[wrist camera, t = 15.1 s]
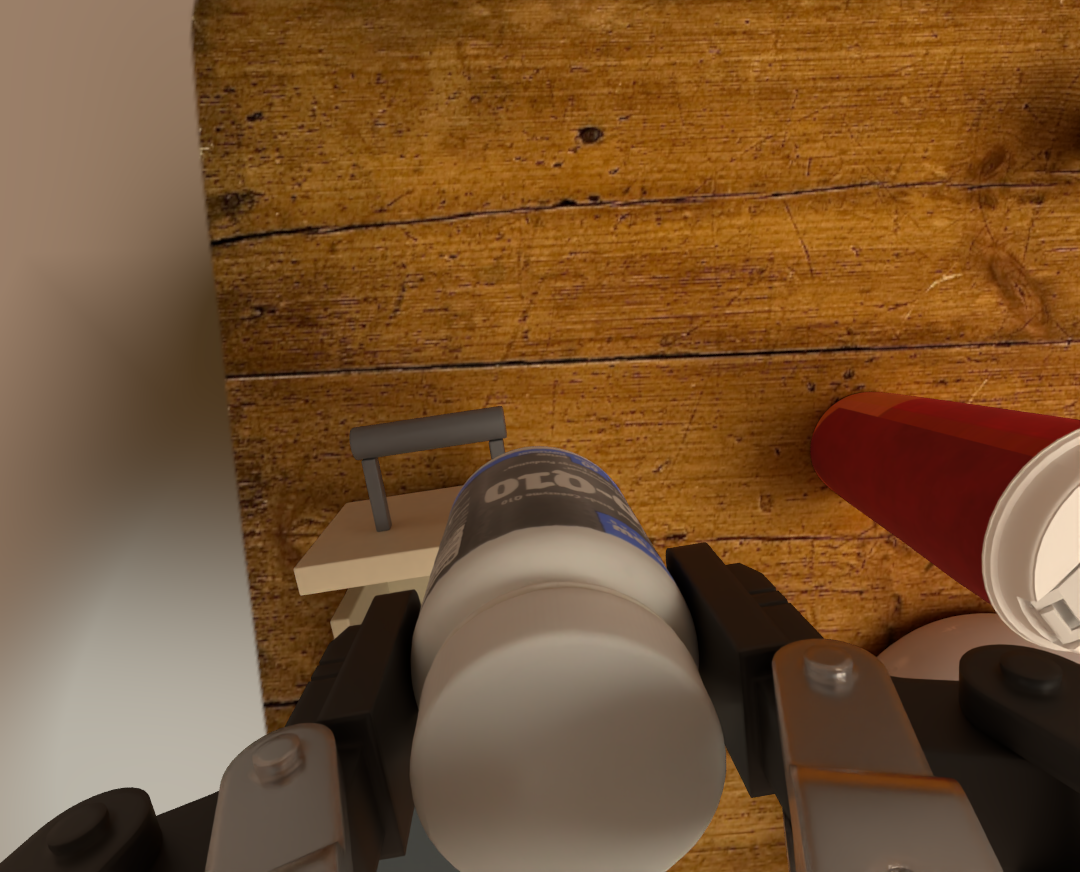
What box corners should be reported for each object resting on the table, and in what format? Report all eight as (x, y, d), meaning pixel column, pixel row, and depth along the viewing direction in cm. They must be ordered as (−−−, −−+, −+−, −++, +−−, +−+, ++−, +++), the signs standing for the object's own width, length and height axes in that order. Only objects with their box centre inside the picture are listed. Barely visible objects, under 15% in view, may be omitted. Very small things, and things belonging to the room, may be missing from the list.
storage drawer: (325, 415, 30) (263, 454, 22) (552, 382, 30) (567, 409, 22) (396, 724, 34) (363, 847, 26) (594, 692, 34) (620, 805, 27)
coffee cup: (845, 542, 34) (1100, 722, 19) (759, 440, 32) (968, 554, 18) (963, 445, 33) (1323, 558, 19) (881, 336, 32) (1206, 365, 17)
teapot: (812, 600, 35) (1001, 784, 22) (1111, 579, 36) (1471, 745, 22) (796, 858, 39) (945, 1145, 26) (1064, 834, 40) (1343, 1101, 26)
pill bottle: (651, 468, 15) (820, 655, 7) (597, 629, 16) (691, 961, 8) (472, 420, 15) (429, 561, 7) (427, 589, 16) (339, 901, 7)
